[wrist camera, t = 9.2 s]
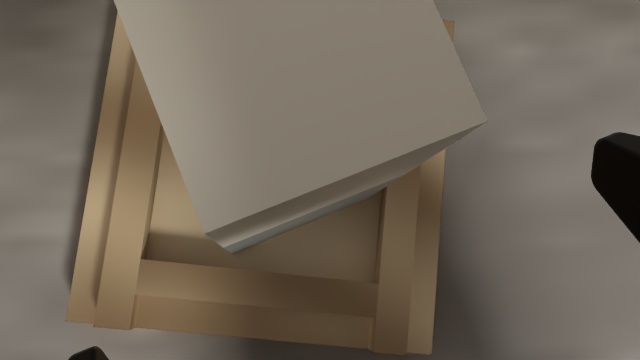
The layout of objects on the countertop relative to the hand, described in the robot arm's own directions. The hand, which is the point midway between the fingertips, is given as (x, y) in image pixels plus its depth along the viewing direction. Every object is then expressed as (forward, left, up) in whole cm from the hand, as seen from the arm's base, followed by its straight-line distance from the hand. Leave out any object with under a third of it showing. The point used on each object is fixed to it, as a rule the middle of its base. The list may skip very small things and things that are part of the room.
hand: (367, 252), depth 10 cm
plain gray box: (+2, +3, -9) cm, 9 cm away
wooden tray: (+2, +3, -10) cm, 10 cm away
